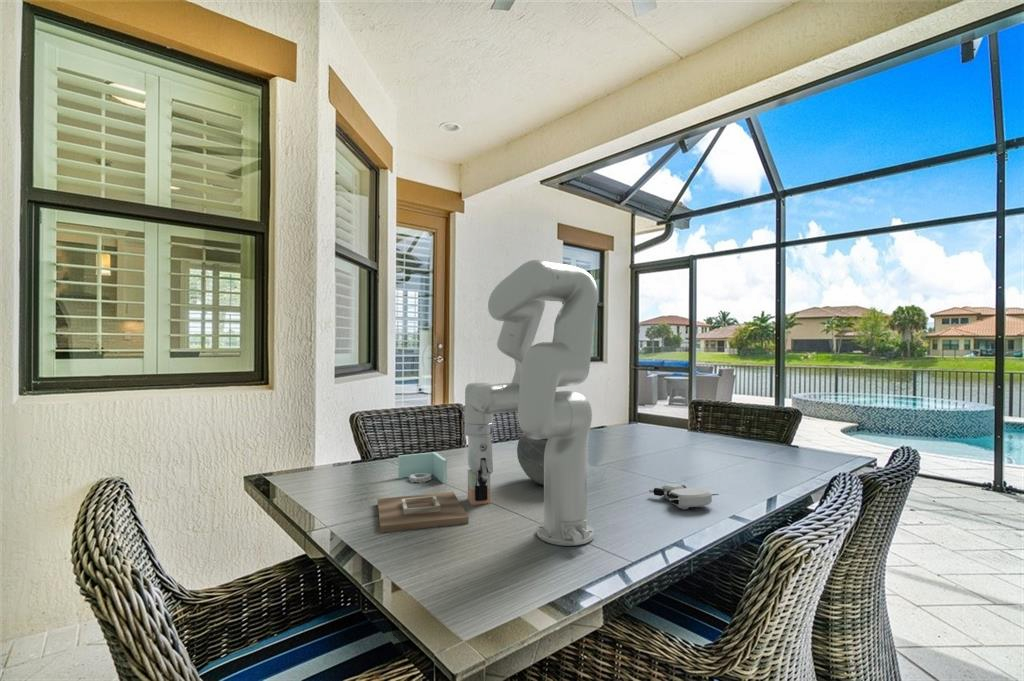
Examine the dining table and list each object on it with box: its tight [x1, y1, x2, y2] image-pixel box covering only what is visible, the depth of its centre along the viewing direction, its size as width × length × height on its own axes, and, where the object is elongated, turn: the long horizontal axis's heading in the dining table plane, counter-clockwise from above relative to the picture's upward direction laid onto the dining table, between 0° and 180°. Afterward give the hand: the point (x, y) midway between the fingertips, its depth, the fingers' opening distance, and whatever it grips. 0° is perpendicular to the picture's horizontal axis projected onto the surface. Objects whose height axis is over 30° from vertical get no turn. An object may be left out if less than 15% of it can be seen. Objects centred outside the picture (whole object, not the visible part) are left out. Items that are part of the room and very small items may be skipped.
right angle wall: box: [397, 451, 448, 484], centre depth 149 cm, size 12×12×8 cm
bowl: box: [516, 432, 548, 486], centre depth 146 cm, size 21×21×15 cm
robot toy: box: [648, 483, 720, 510], centre depth 128 cm, size 12×4×15 cm
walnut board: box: [377, 491, 469, 534], centre depth 120 cm, size 20×20×3 cm
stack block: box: [467, 468, 491, 506], centre depth 129 cm, size 5×5×8 cm
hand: (478, 496), depth 129 cm, fingers closed on stack block, 5 cm apart
